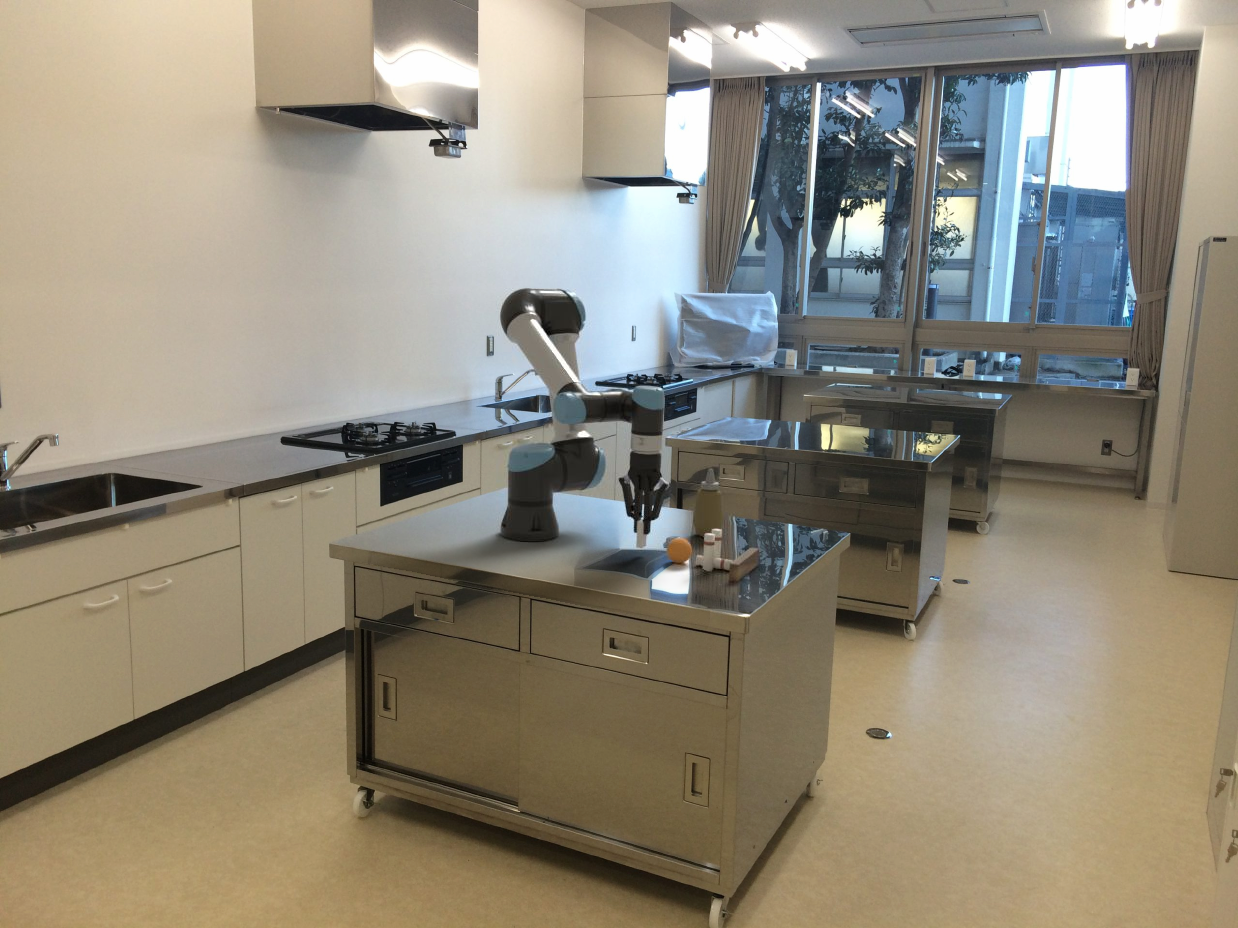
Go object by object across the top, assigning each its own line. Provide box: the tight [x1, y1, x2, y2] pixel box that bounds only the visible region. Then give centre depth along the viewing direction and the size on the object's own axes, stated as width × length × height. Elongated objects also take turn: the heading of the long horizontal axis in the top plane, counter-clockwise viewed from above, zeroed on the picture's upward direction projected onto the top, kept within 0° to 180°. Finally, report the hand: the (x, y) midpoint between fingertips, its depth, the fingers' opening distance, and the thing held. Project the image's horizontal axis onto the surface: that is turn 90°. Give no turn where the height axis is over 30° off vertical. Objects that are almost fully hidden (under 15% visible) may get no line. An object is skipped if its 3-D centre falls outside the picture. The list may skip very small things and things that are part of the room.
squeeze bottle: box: [692, 468, 724, 537], centre depth 259 cm, size 8×8×18 cm
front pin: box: [694, 554, 733, 571], centre depth 230 cm, size 2×2×8 cm
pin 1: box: [702, 533, 715, 572], centre depth 228 cm, size 2×2×8 cm
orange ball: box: [666, 537, 693, 564], centre depth 233 cm, size 6×6×6 cm
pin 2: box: [712, 528, 723, 559], centre depth 232 cm, size 2×2×8 cm
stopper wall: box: [728, 547, 760, 582], centre depth 227 cm, size 2×16×4 cm, turn 156°
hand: (641, 546), depth 238 cm, fingers closed
